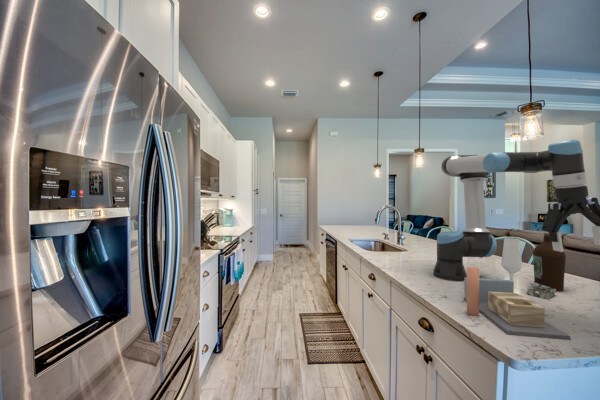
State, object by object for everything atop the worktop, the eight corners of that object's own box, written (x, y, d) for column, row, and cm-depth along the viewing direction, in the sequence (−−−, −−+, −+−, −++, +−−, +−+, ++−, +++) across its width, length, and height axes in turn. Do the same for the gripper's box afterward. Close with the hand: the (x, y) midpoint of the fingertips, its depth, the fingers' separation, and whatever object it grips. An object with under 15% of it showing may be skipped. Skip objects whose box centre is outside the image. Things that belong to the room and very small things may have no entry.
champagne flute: (497, 294, 103) (497, 238, 104) (507, 292, 106) (507, 237, 106) (516, 300, 97) (516, 240, 97) (526, 298, 100) (526, 239, 100)
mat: (570, 339, 70) (570, 336, 70) (507, 334, 73) (507, 330, 73) (508, 302, 96) (508, 299, 96) (463, 299, 98) (463, 297, 98)
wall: (513, 302, 93) (513, 281, 93) (467, 299, 95) (467, 279, 95) (509, 300, 95) (509, 279, 95) (464, 297, 98) (464, 277, 98)
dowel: (466, 313, 86) (466, 268, 86) (467, 310, 88) (467, 266, 88) (478, 317, 83) (479, 270, 83) (479, 313, 86) (479, 267, 86)
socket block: (544, 327, 74) (544, 307, 74) (511, 324, 76) (511, 305, 76) (516, 310, 86) (516, 293, 86) (488, 308, 88) (488, 291, 88)
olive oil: (557, 285, 115) (557, 232, 115) (571, 293, 105) (571, 235, 106) (528, 282, 119) (528, 231, 120) (539, 289, 110) (539, 234, 110)
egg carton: (547, 300, 98) (547, 290, 98) (523, 294, 105) (523, 284, 105) (558, 296, 103) (558, 286, 103) (535, 290, 110) (535, 281, 110)
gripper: (542, 192, 80) (551, 256, 80) (622, 179, 78) (632, 244, 79) (522, 192, 87) (531, 250, 87) (595, 181, 86) (604, 240, 86)
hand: (579, 248), depth 83 cm, fingers open, 13 cm apart
